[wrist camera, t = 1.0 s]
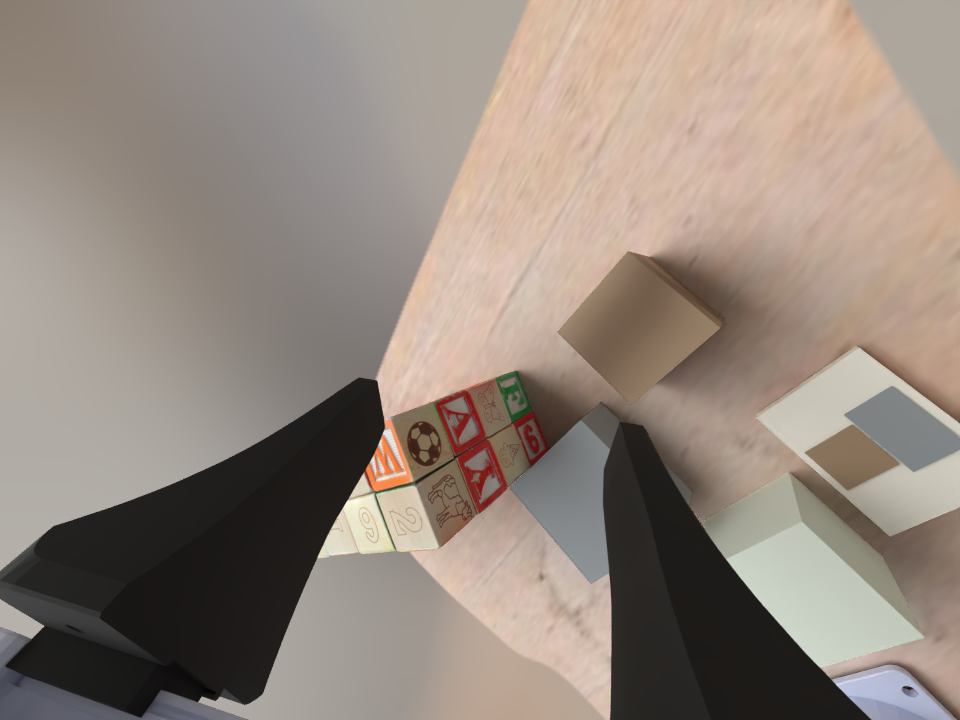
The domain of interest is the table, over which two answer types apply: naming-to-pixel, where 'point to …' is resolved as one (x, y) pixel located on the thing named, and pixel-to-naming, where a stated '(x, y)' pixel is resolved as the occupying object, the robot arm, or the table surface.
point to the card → (873, 441)
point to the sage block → (813, 573)
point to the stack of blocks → (439, 469)
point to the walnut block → (639, 325)
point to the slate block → (577, 491)
